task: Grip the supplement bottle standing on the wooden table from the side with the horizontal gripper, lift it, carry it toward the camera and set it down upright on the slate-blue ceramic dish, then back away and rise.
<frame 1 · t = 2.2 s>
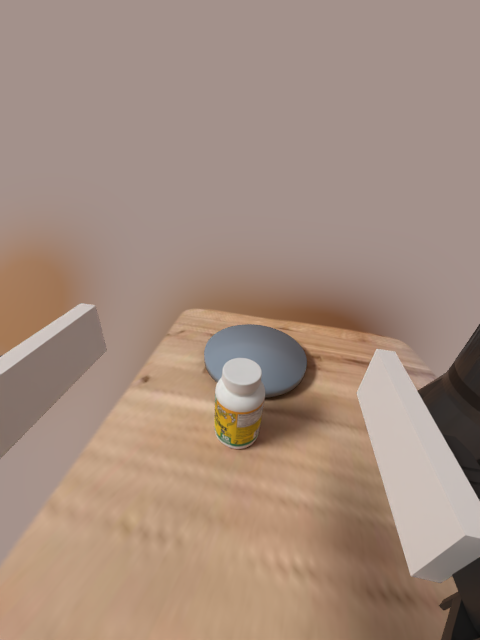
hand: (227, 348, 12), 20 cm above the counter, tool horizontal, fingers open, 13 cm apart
slate dish: (254, 361, 42), on the counter
supplement bottle: (236, 430, 31), on the counter
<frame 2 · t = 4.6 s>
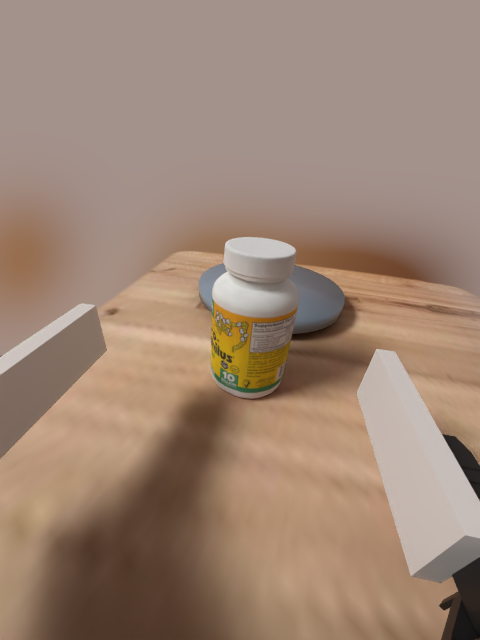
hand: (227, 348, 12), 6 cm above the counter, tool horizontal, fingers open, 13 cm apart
slate dish: (268, 299, 30), on the counter
supplement bottle: (245, 374, 19), on the counter
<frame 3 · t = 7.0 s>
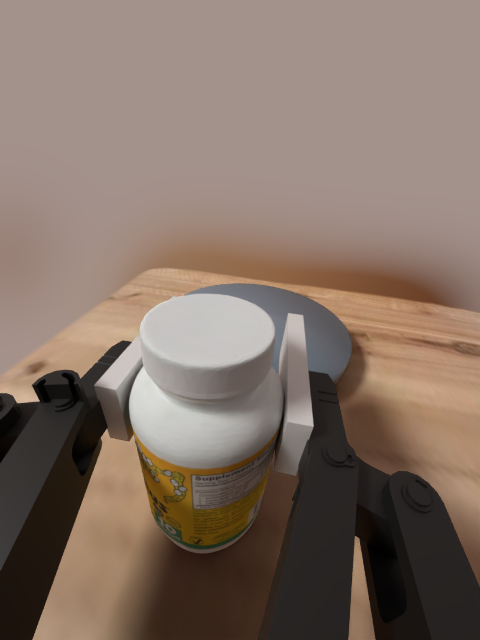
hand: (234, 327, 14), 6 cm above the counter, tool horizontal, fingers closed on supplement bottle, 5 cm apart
slate dish: (252, 340, 23), on the counter
supplement bottle: (207, 487, 13), on the counter, touching gripper
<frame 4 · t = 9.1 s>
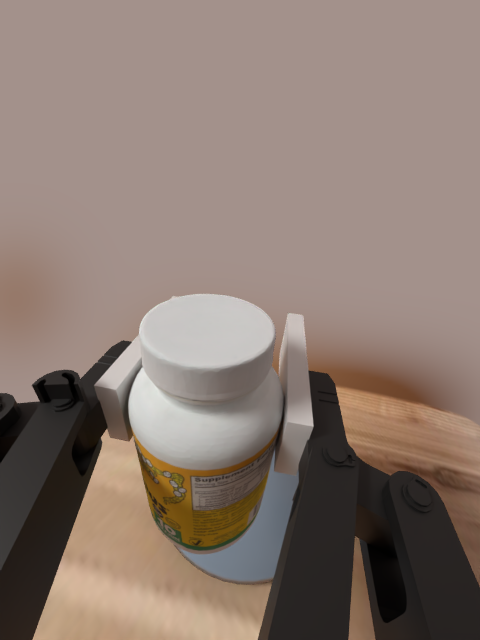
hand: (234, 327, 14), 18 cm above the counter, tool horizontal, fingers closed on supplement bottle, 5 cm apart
slate dish: (243, 471, 25), on the counter
supplement bottle: (207, 488, 13), point 12 cm above the counter, touching gripper
when the fingers open (10 cm above the counter, at t = 11.5 s): supplement bottle drops 1 cm, resting on slate dish.
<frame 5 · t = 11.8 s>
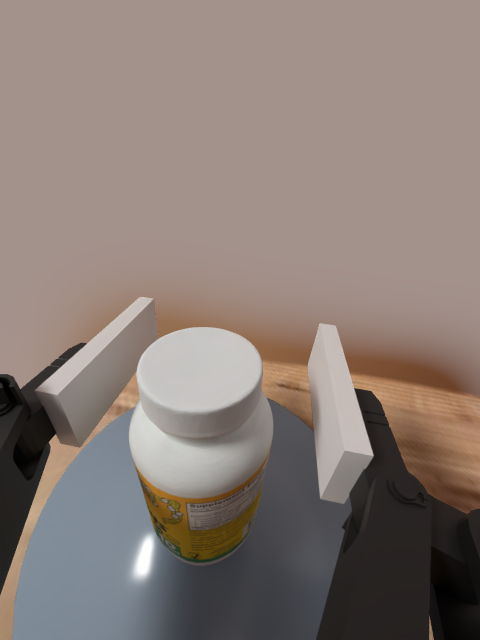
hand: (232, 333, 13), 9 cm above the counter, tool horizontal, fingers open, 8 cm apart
slate dish: (207, 516, 15), on the counter
supplement bottle: (205, 500, 14), point 2 cm above the counter, touching slate dish
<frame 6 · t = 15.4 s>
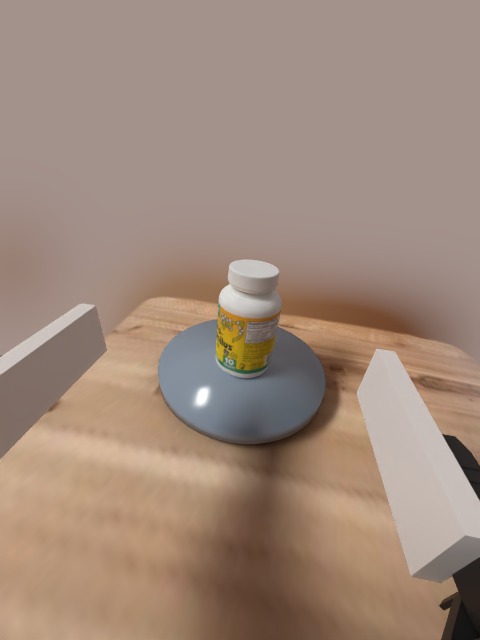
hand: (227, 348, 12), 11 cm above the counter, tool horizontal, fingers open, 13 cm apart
slate dish: (241, 375, 26), on the counter
supplement bottle: (242, 362, 25), point 2 cm above the counter, touching slate dish
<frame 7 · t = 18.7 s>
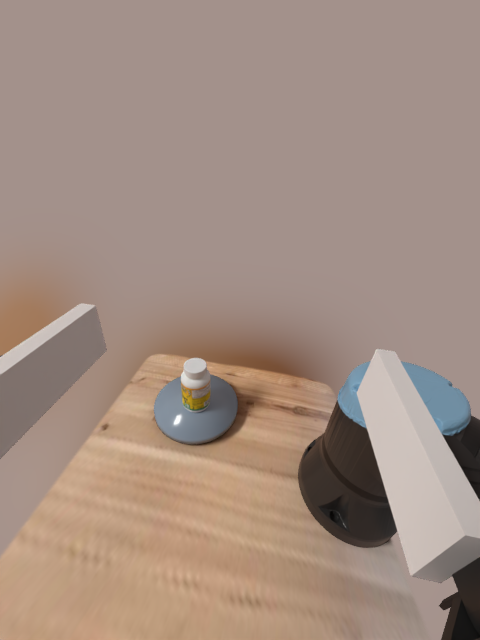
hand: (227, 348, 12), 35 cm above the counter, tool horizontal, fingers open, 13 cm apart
slate dish: (197, 409, 51), on the counter
supplement bottle: (196, 402, 50), point 2 cm above the counter, touching slate dish
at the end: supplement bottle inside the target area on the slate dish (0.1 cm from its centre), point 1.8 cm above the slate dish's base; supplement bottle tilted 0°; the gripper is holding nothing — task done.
